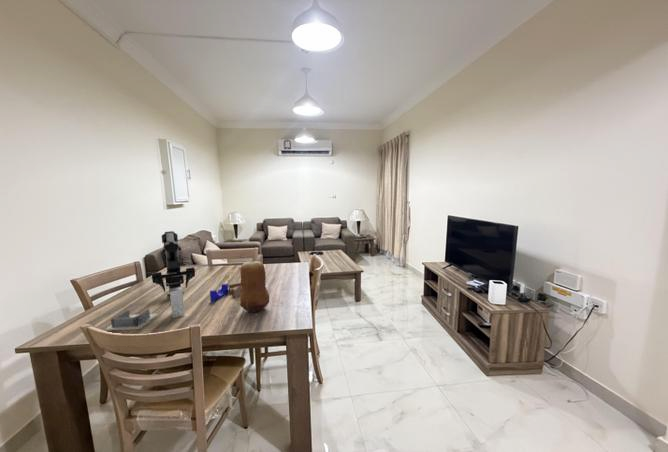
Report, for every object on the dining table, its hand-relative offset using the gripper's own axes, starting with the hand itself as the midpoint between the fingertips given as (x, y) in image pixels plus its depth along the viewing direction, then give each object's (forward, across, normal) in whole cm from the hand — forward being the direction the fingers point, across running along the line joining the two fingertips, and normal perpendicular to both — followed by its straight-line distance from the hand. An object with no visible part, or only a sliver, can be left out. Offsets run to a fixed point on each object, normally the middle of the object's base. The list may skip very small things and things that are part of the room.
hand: (175, 289), depth 130 cm
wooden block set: (+2, +36, +16) cm, 39 cm away
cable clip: (+2, +20, +14) cm, 25 cm away
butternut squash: (+24, +32, -7) cm, 41 cm away
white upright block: (+11, 0, +5) cm, 12 cm away
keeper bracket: (+10, -18, +7) cm, 21 cm away
